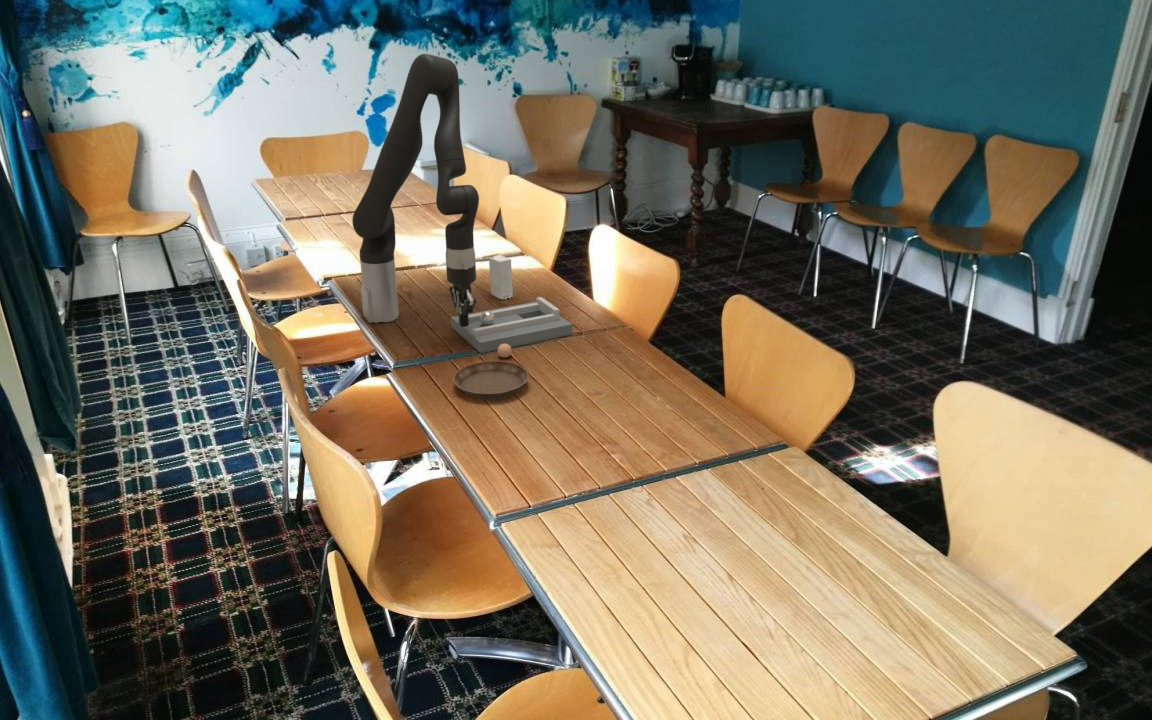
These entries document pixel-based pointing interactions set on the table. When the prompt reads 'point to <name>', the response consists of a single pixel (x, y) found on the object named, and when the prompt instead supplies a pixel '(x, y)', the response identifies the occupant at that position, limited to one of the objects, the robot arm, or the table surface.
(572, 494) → the table surface
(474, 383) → the plant saucer
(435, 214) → the table surface
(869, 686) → the table surface
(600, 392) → the table surface
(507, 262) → the skincare box
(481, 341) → the slate board
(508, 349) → the terracotta ball
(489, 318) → the steel ball
